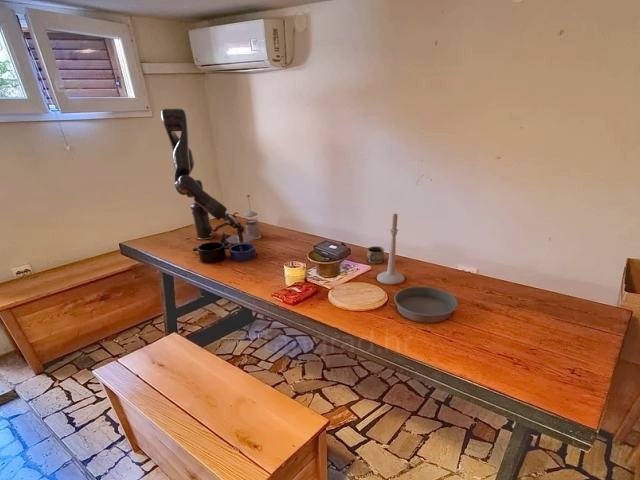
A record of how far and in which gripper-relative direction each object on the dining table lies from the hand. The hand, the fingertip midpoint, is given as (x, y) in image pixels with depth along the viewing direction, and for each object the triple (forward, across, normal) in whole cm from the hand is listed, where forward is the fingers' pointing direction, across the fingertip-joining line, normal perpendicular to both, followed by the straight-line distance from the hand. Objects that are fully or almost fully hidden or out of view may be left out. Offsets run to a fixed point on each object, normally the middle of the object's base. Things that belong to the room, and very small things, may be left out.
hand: (243, 230), depth 192 cm
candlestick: (+55, -51, -34) cm, 82 cm away
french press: (+15, +32, +5) cm, 36 cm away
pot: (-3, +2, +23) cm, 23 cm away
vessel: (+55, -28, -35) cm, 71 cm away
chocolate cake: (+3, +22, +18) cm, 28 cm away
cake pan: (+56, -83, -35) cm, 106 cm away
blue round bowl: (+9, 0, +12) cm, 14 cm away
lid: (+2, 0, +5) cm, 5 cm away
